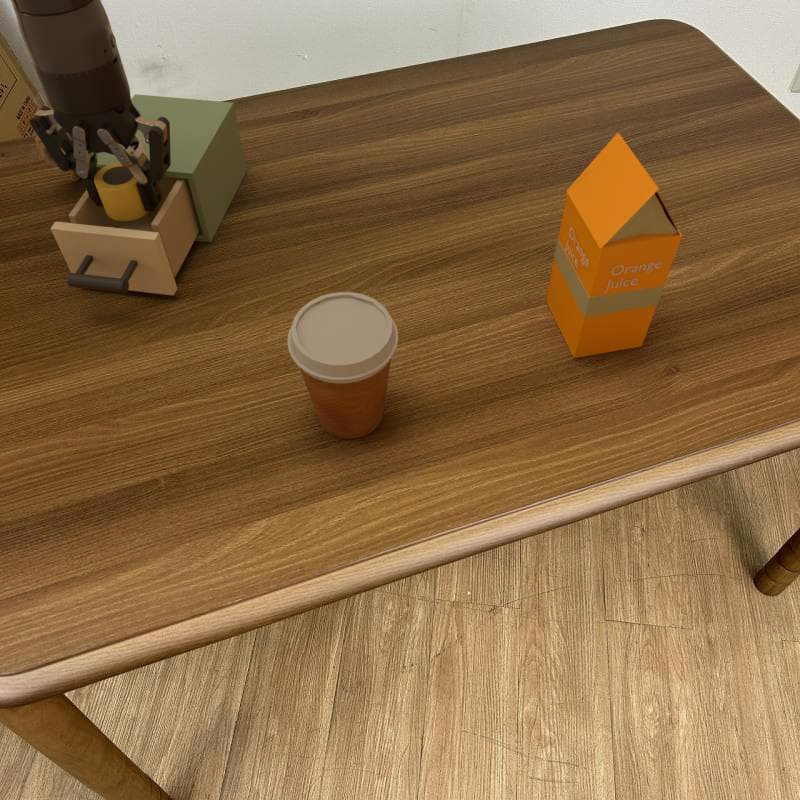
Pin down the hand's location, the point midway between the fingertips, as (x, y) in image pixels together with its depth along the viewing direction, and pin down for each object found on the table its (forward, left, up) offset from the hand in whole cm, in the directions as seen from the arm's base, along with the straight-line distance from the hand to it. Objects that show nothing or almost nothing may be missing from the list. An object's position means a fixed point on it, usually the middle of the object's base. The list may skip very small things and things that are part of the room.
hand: (128, 203), depth 81 cm
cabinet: (0, +11, -8) cm, 14 cm away
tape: (0, 0, 0) cm, 0 cm away
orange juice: (+51, -2, -8) cm, 52 cm away
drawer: (0, -2, -7) cm, 7 cm away
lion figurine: (-12, +15, -8) cm, 21 cm away
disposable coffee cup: (+28, -18, -8) cm, 34 cm away
